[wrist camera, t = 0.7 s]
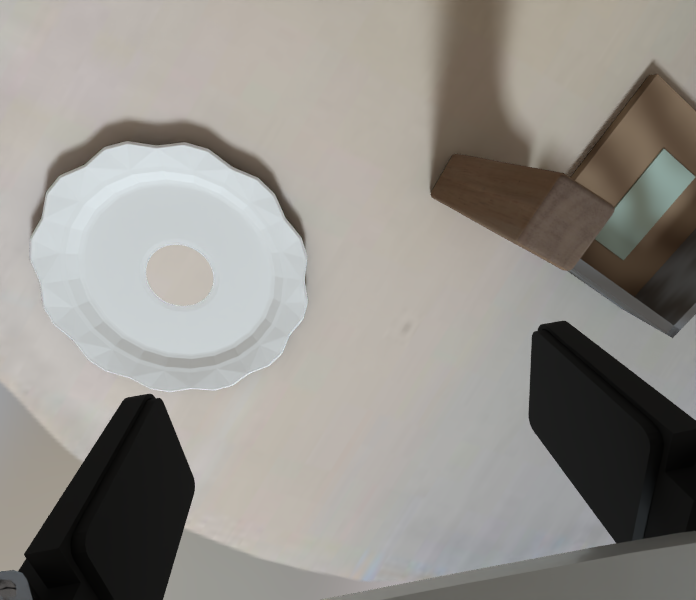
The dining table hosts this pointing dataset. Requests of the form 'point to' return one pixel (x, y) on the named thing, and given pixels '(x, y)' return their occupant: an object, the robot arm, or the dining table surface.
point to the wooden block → (525, 206)
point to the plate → (146, 238)
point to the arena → (646, 209)
